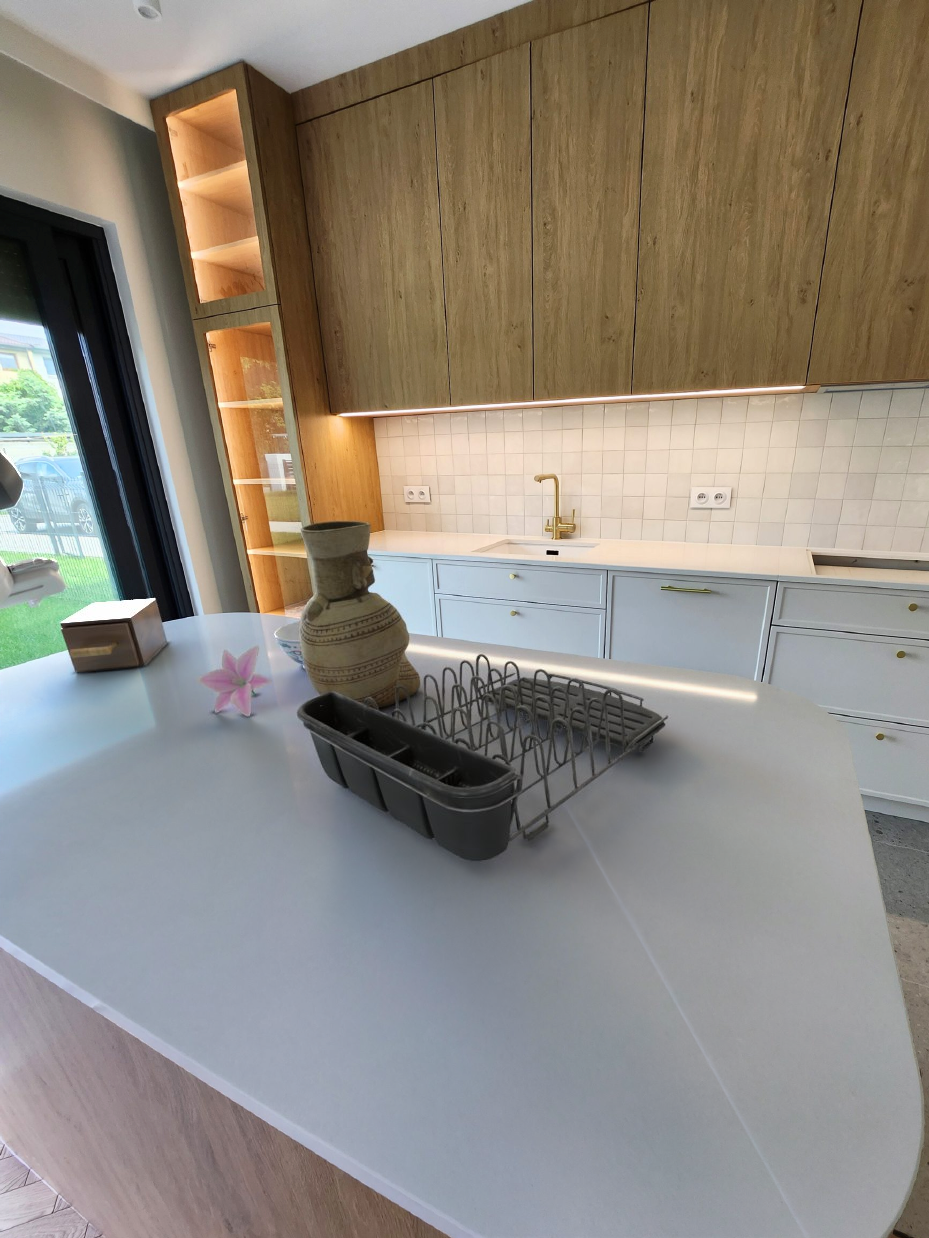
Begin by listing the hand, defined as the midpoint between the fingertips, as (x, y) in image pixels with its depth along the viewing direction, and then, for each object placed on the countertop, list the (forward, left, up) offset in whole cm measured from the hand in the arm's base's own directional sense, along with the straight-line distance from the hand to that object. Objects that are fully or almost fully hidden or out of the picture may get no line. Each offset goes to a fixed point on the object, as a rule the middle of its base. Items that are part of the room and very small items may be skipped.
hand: (0, 612), depth 97 cm
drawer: (+6, +20, -16) cm, 27 cm away
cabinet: (+6, +25, -17) cm, 31 cm away
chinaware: (+48, +7, -17) cm, 52 cm away
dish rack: (+76, -41, -17) cm, 88 cm away
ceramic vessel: (+57, -13, -17) cm, 61 cm away
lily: (+36, -10, -17) cm, 41 cm away
